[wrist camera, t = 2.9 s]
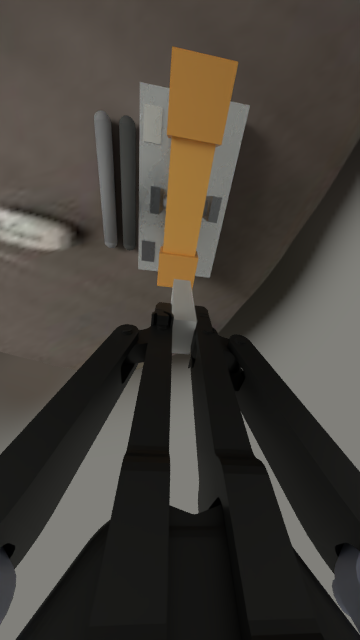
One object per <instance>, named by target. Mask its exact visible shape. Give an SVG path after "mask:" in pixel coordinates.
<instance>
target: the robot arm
mask: <svg viewBox="0 0 360 640" xmlns="http://www.w3.org/2000/svg"><path fill="white" fill-rule="evenodd" d="M190 350H191V357H190V362H189V367H188V368H190V367H191V380H192V392H193V406H194V419H195V431H196V444H197V458H198V471H199V492H198V510H199V513H198V514H190V513H188V512H185V511H183V510H180V509H177V508H175V507H172V506H170V505H169V498H170V496H169V495H170V456H169V431H170V429H169V428H170V396H171V394H170V393H171V361H172V353H181V354H190ZM140 362H144V365H143V370H142V375H141V381H140V386H139V391H138V396H137V401H136V406H135V411H134V417H133V421H132V427H131V432H130V437H129V442H128V447H127V451H126V454H125V456H124V459H123V462H122V467H121V472H120V476H119V481H118V486H117V491H116V496H115V501H114V506H113V510H112V515H111V520H109V521H108V522H107V523H106V524H104V525H103V526H102V527H101V528H100V529H99V530H98V531H97V532H96V533H95V534H94V535H93V537H92V538H91V539H90V540H89V541H88V543H87V544H86V545H85V547H84V548H83V549H82V551H81V552H80V553H79V555H78V556H77V557H76V559H75V560H74V561H73V563H72V564H71V565H70V567H69V568H68V570H67V571H66V572H65V574H64V575H63V576H62V578H61V579H60V581H59V582H58V583H57V585H56V586H55V587H54V589H53V590H52V591H51V592H50V594H49V596H48V597H47V598H46V599H45V601H44V602H43V603H42V605H41V606H40V607H39V609H38V610H37V611H36V613H35V614H34V615H33V617H32V618H31V619H30V621H29V622H28V624H27V625H26V626H25V628H24V629H23V630H22V632H21V633H20V635H19V636H18V637H17V638H16V640H360V635H359V633H360V472H359V470H358V469H357V468H356V467H355V466H354V465H353V463H352V462H351V461H350V460H349V459H348V457H347V456H346V455H345V454H344V453H343V451H342V450H341V449H340V448H339V447H338V445H337V444H336V443H335V442H334V441H333V439H332V438H331V437H330V436H329V435H328V433H327V432H326V431H325V430H324V429H323V428H322V427H321V425H320V424H319V423H318V422H317V420H316V419H315V418H314V417H313V416H312V414H311V413H310V412H309V411H308V410H307V409H306V407H305V406H304V405H303V404H302V403H301V401H300V400H299V399H298V398H297V396H296V395H295V394H294V393H293V392H292V391H291V389H290V388H289V387H288V386H287V385H286V383H285V382H284V381H283V380H282V379H281V377H280V376H279V375H278V374H277V373H276V372H275V371H274V369H273V368H272V367H271V365H270V364H269V363H268V362H267V361H266V360H265V358H264V357H263V356H262V355H261V354H260V352H259V351H258V350H257V349H256V348H255V346H254V345H253V344H252V343H251V342H250V340H248V339H247V338H246V337H244V336H242V335H232V336H230V338H229V339H227V338H224V337H221V336H219V335H218V333H217V331H216V330H215V329H214V328H213V327H212V325H211V321H210V318H209V315H208V310H207V309H206V308H205V307H202V306H194V301H193V294H192V288H191V282H190V281H188V280H180V279H174V281H173V290H172V298H171V303H162V302H159V303H158V304H157V305H156V308H155V312H153V313H152V320H151V327H149V328H147V329H144V330H138V328H137V327H136V326H134V325H129V324H126V325H121V326H119V327H117V328H116V329H115V330H114V331H113V333H112V334H111V335H110V336H109V337H108V338H107V339H106V340H105V341H104V342H103V343H102V345H101V346H100V347H99V348H98V349H97V350H96V351H95V352H94V353H93V354H92V355H91V357H90V358H89V359H88V360H87V361H86V362H85V363H84V364H83V365H82V366H81V367H80V368H79V370H78V371H77V372H76V373H75V374H74V375H73V376H72V377H71V378H70V380H68V382H67V383H66V384H65V385H64V386H63V387H62V388H61V389H60V390H59V392H57V394H56V395H55V396H54V397H53V398H52V399H51V400H50V401H49V402H48V403H47V404H46V406H45V407H44V408H43V409H42V410H41V411H40V412H39V413H38V414H37V416H35V418H34V419H33V420H32V421H31V422H30V423H29V424H28V425H27V426H26V427H25V429H24V430H23V431H22V432H21V433H20V434H19V435H18V436H17V437H16V438H15V439H14V440H13V441H12V443H11V444H10V445H9V446H8V447H7V448H6V449H5V450H4V451H3V452H2V454H1V455H0V624H1V622H2V620H3V619H4V617H5V615H6V613H7V611H8V609H9V606H10V604H11V601H12V599H13V595H14V591H15V587H16V574H15V570H14V569H15V568H16V567H17V565H18V564H19V563H20V562H21V560H22V559H23V558H24V556H25V555H26V553H27V552H28V551H29V549H30V548H31V546H32V545H33V544H34V542H35V541H36V539H37V538H38V536H39V535H40V533H41V532H42V530H43V528H44V527H45V525H46V524H47V522H48V520H49V519H50V517H51V516H52V514H53V512H54V510H55V509H56V507H57V505H58V503H59V501H60V500H61V498H62V496H63V495H64V493H65V491H66V489H67V488H68V486H69V484H70V482H71V481H72V479H73V477H74V475H75V474H76V472H77V470H78V468H79V467H80V465H81V463H82V461H83V460H84V458H85V456H86V455H87V453H88V451H89V449H90V448H91V445H92V444H93V442H94V441H95V439H96V437H97V435H98V434H99V432H100V430H101V428H102V426H103V425H104V423H105V421H106V420H107V418H108V416H109V414H110V413H111V411H112V409H113V407H114V406H115V404H116V402H117V400H118V399H119V397H120V395H121V393H122V391H123V390H124V388H125V386H126V385H127V383H128V381H129V379H130V378H131V376H132V374H133V372H134V371H135V369H136V367H137V365H138V363H140ZM241 368H242V369H243V370H242V369H241ZM241 413H242V414H243V416H244V418H245V420H246V422H247V424H248V426H249V428H250V429H251V431H252V433H253V435H254V437H255V439H256V440H257V443H258V444H259V446H260V448H261V450H262V452H263V454H264V456H265V458H266V459H267V461H268V463H269V465H270V467H271V469H272V470H273V472H274V474H275V476H276V478H277V480H278V482H279V484H280V486H281V488H282V489H283V491H284V493H285V495H286V497H287V499H288V501H289V503H290V504H291V506H292V508H293V510H294V512H295V514H296V516H297V518H298V519H299V521H300V523H301V525H302V526H303V528H304V530H305V531H306V533H307V535H308V537H309V538H310V540H311V541H312V542H313V544H314V546H315V547H316V549H317V551H318V552H319V553H320V555H321V557H322V558H323V559H324V561H325V562H326V564H327V565H328V566H329V568H330V569H331V570H332V572H333V573H334V574H335V579H334V580H333V583H332V588H333V593H334V596H335V598H336V601H337V603H338V605H339V606H340V607H341V608H342V610H343V611H344V612H345V613H346V614H347V615H349V616H350V617H351V618H352V620H353V622H354V624H355V625H356V627H357V629H358V631H359V633H358V632H357V631H356V630H355V628H354V627H353V626H352V624H351V623H350V622H349V620H348V619H347V618H346V616H345V615H344V614H343V612H342V611H341V610H340V609H339V607H338V606H337V605H336V603H335V602H334V601H333V599H332V598H331V597H330V595H329V594H328V593H327V591H326V590H325V589H324V588H323V586H322V585H321V584H320V582H319V581H318V580H317V578H316V577H315V576H314V574H313V573H312V572H311V570H310V569H309V568H308V567H307V565H306V564H305V563H304V561H303V560H302V559H301V557H300V556H299V555H298V553H297V552H296V551H295V549H294V548H293V547H292V545H291V542H290V539H289V536H288V533H287V530H286V527H285V524H284V521H283V518H282V514H281V511H280V508H279V505H278V502H277V499H276V496H275V493H274V490H273V487H272V484H271V481H270V478H269V475H268V473H267V470H266V468H265V466H264V464H263V463H262V461H260V460H259V459H257V458H256V457H255V456H254V454H253V452H252V449H251V445H250V442H249V438H248V435H247V431H246V428H245V425H244V421H243V418H242V415H241Z"/></svg>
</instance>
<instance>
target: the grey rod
mask: <svg viewBox="0 0 360 640" xmlns="http://www.w3.org/2000/svg"><path fill="white" fill-rule="evenodd" d="M94 124H95V136H96V147H97V159H98V170H99V182H100V193H101V204H102V216H103V227H104V239H105V244H106V245H107V246H108V247H109V248H114V247H116V246H117V222H116V203H115V183H114V164H113V144H112V125H111V120H110V118H109V116H108V115H107V114H106V113H105V112H104V111H97V112H96V113H95V116H94Z"/></svg>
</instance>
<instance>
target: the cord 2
mask: <svg viewBox="0 0 360 640" xmlns="http://www.w3.org/2000/svg"><path fill="white" fill-rule="evenodd" d="M119 137H120V165H121V194H122V222H123V245H124V247H125V249H127V250H133V249H134V248H135V246H136V128H135V123H134V121H133V120H132V118H131V117H129V116H123V117H121V119H120V122H119Z"/></svg>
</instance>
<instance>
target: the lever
mask: <svg viewBox="0 0 360 640" xmlns="http://www.w3.org/2000/svg"><path fill="white" fill-rule="evenodd" d="M237 66H238V62H237V61H233V60H228V59H224V58H220V57H215V56H211V55H207V54H203V53H198V52H194V51H190V50H186V49H181V48H177V47H173V46H172V59H171V74H170V90H169V106H168V122H167V137H168V138H171V151H170V164H169V177H168V191H167V194H164V196H163V209H165V210H166V217H165V230H164V244H163V246H161V248H160V252H159V265H158V281H157V286H165V287H173V281H174V279H180V280H188V281H190V282H191V288H193V283H194V278H195V273H196V268H197V263H198V254H197V251H196V248H197V243H198V237H199V232H200V227H201V221H202V216H203V215H204V216H205V215H206V212H207V207H208V201H205V200H206V195H207V190H208V184H209V179H210V174H211V169H212V163H213V158H214V153H215V147H218V146H220V145H222V140H223V135H224V130H225V125H226V121H227V116H228V111H229V106H230V101H231V96H232V91H233V86H234V81H235V76H236V71H237Z"/></svg>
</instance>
